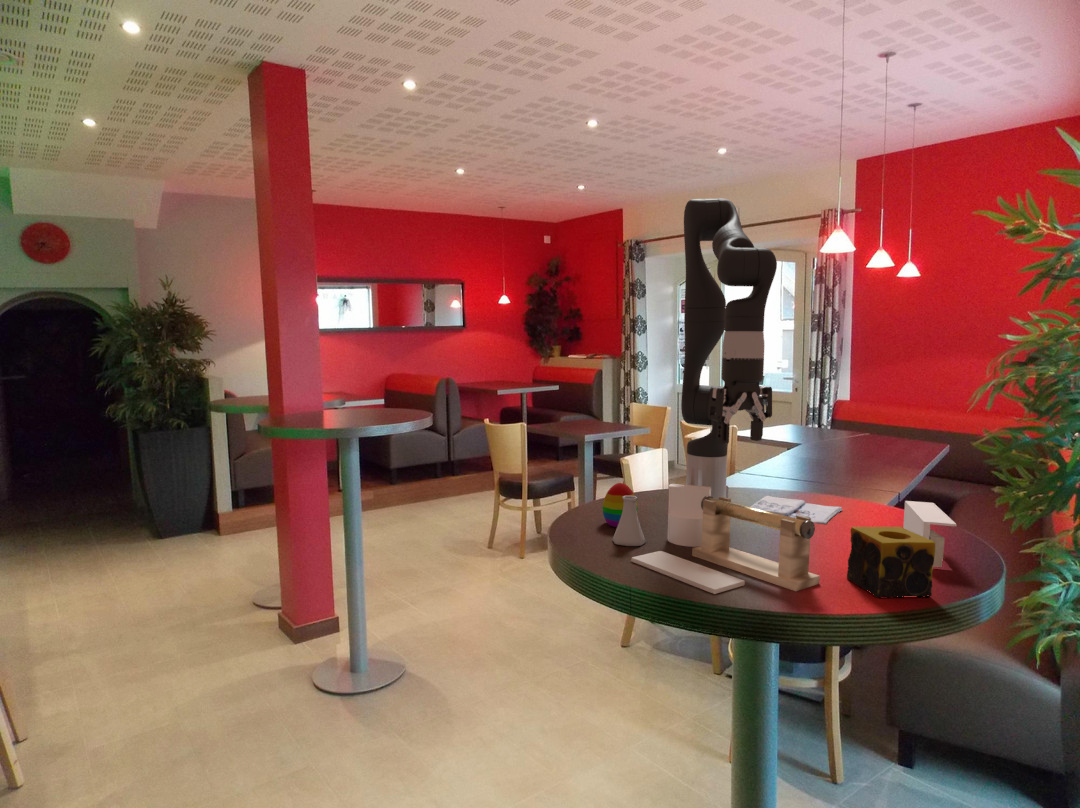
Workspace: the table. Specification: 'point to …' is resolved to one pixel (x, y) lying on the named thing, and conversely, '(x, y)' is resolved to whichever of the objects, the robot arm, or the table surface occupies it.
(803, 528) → the brass rail
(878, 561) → the yellow cube with hole
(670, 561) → the grey mat
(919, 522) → the white angled piece
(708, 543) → the rail stand
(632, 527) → the flask
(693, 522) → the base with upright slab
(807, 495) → the table surface
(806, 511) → the open book
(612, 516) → the decorative egg
